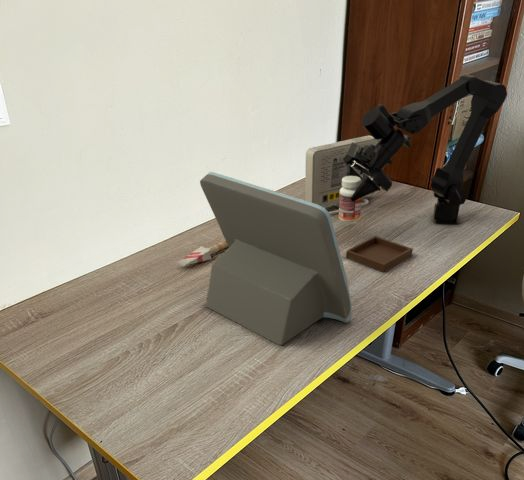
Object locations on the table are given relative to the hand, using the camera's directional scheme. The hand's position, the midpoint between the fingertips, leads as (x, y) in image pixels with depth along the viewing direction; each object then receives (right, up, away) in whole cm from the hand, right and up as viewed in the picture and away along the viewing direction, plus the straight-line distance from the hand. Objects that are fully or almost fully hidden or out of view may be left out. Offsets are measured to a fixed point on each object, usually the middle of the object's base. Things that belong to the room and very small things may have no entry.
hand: (346, 196), depth 153 cm
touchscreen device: (-21, -33, -22) cm, 45 cm away
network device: (+3, +5, +29) cm, 29 cm away
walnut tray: (+9, -17, -2) cm, 19 cm away
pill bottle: (+2, -5, +4) cm, 7 cm away
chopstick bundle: (-38, -17, +2) cm, 42 cm away
